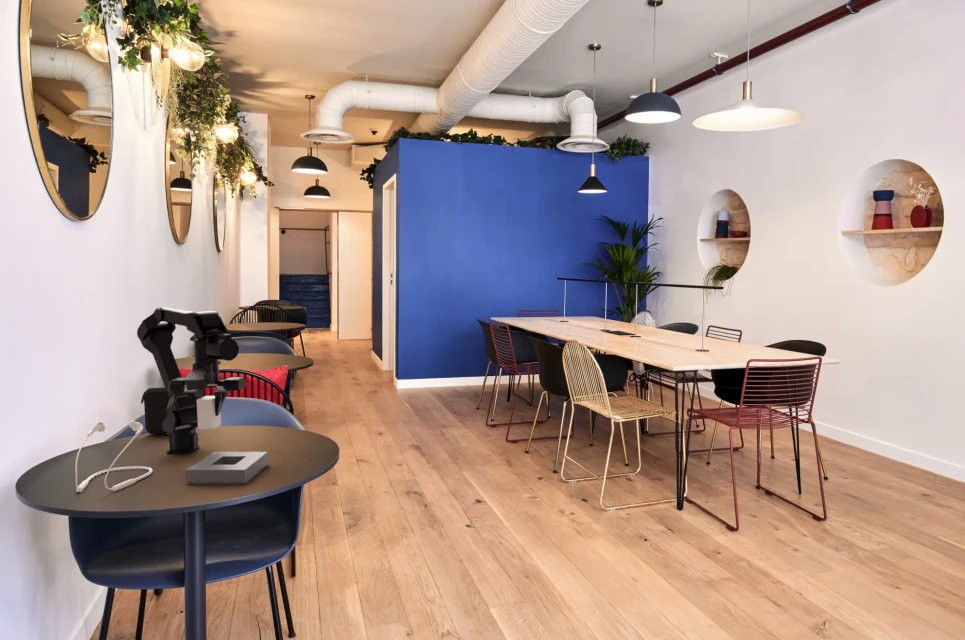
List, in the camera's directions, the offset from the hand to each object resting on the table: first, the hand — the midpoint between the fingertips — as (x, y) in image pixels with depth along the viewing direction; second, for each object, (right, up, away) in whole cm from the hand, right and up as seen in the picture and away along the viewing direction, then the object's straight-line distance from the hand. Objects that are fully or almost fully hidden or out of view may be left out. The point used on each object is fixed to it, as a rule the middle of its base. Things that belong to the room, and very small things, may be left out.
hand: (209, 415), depth 171 cm
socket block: (+11, -13, -13) cm, 21 cm away
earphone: (-15, -13, -18) cm, 27 cm away
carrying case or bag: (-26, -10, +26) cm, 39 cm away
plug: (0, -3, 0) cm, 3 cm away
